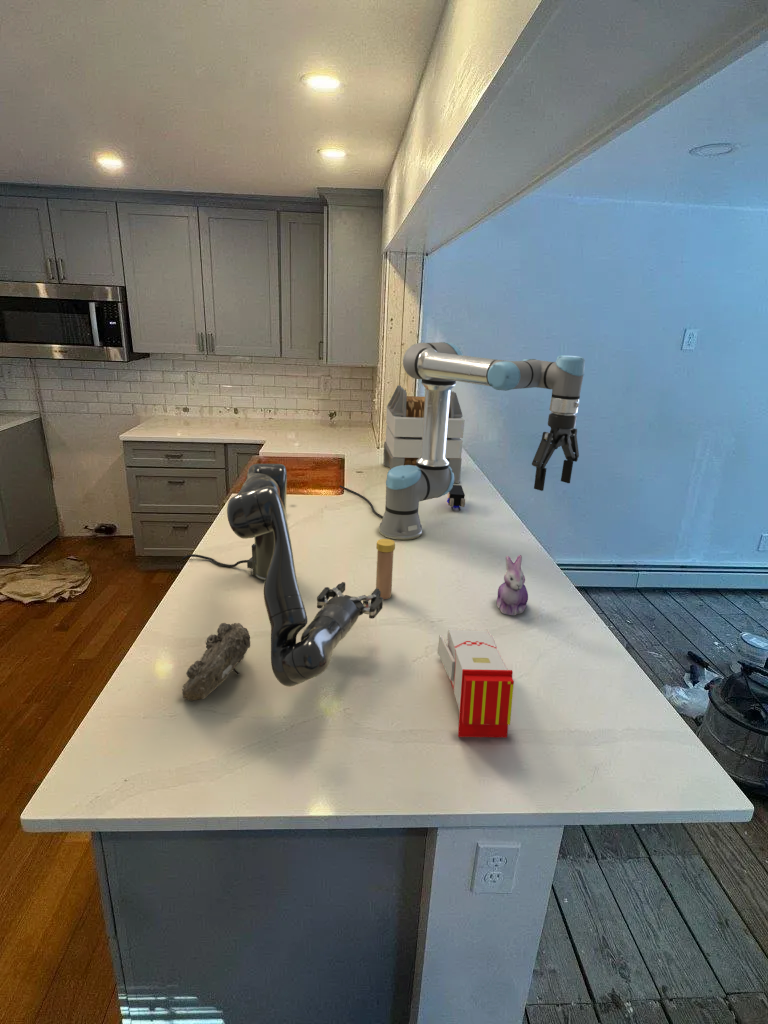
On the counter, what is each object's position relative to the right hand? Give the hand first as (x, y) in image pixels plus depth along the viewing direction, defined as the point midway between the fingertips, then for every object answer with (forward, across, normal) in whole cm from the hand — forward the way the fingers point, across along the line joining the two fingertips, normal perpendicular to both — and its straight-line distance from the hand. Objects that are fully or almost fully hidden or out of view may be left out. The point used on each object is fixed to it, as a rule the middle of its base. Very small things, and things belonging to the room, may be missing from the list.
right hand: (552, 485), depth 166 cm
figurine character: (+28, +24, +57) cm, 68 cm away
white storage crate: (+28, +46, +101) cm, 115 cm away
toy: (+28, -62, -26) cm, 72 cm away
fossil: (+28, -99, +11) cm, 104 cm away
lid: (+12, -49, +17) cm, 53 cm away
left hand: (+16, -66, +6) cm, 68 cm away
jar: (+28, -49, +17) cm, 59 cm away
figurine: (+28, -25, -9) cm, 39 cm away
